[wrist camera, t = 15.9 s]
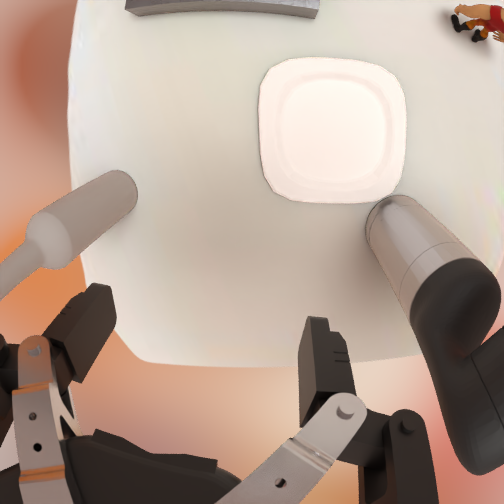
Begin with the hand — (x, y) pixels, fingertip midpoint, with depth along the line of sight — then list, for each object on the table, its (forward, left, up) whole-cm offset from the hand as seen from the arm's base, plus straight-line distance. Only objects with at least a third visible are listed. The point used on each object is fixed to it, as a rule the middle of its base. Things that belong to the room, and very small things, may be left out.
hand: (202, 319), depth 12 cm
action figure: (-26, -26, -28) cm, 46 cm away
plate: (-9, -6, -29) cm, 31 cm away
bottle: (+19, +5, -28) cm, 34 cm away
